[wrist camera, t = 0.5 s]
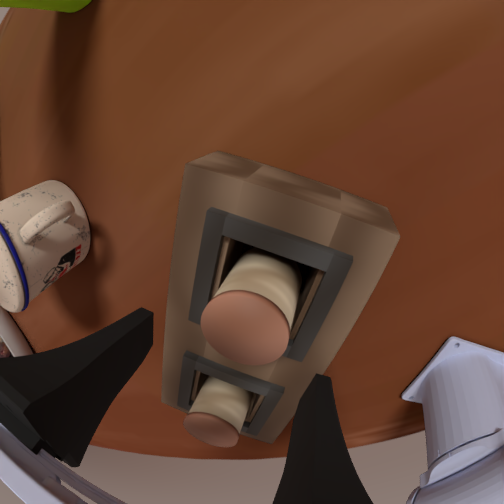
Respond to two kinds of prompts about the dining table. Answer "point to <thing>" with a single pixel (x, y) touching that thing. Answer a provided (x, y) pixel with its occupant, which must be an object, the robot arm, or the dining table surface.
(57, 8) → the soap dispenser
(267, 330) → the peg
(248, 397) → the peg
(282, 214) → the walnut block
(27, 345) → the bowl
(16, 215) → the teacup with lid
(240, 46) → the dining table surface
